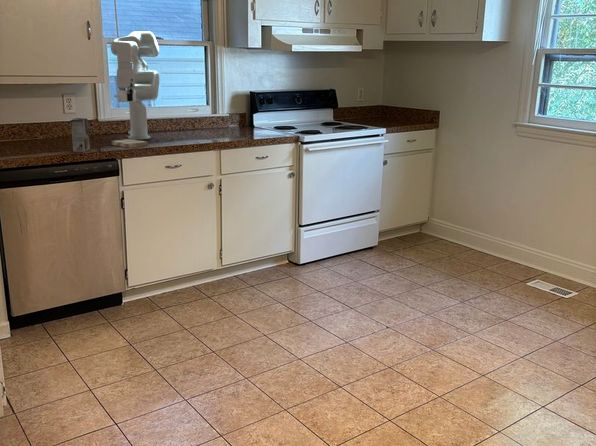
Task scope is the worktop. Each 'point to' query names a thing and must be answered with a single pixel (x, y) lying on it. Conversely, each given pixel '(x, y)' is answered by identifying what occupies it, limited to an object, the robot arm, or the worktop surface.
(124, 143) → the maple board
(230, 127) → the worktop surface
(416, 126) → the worktop surface
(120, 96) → the connector
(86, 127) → the coffee box
